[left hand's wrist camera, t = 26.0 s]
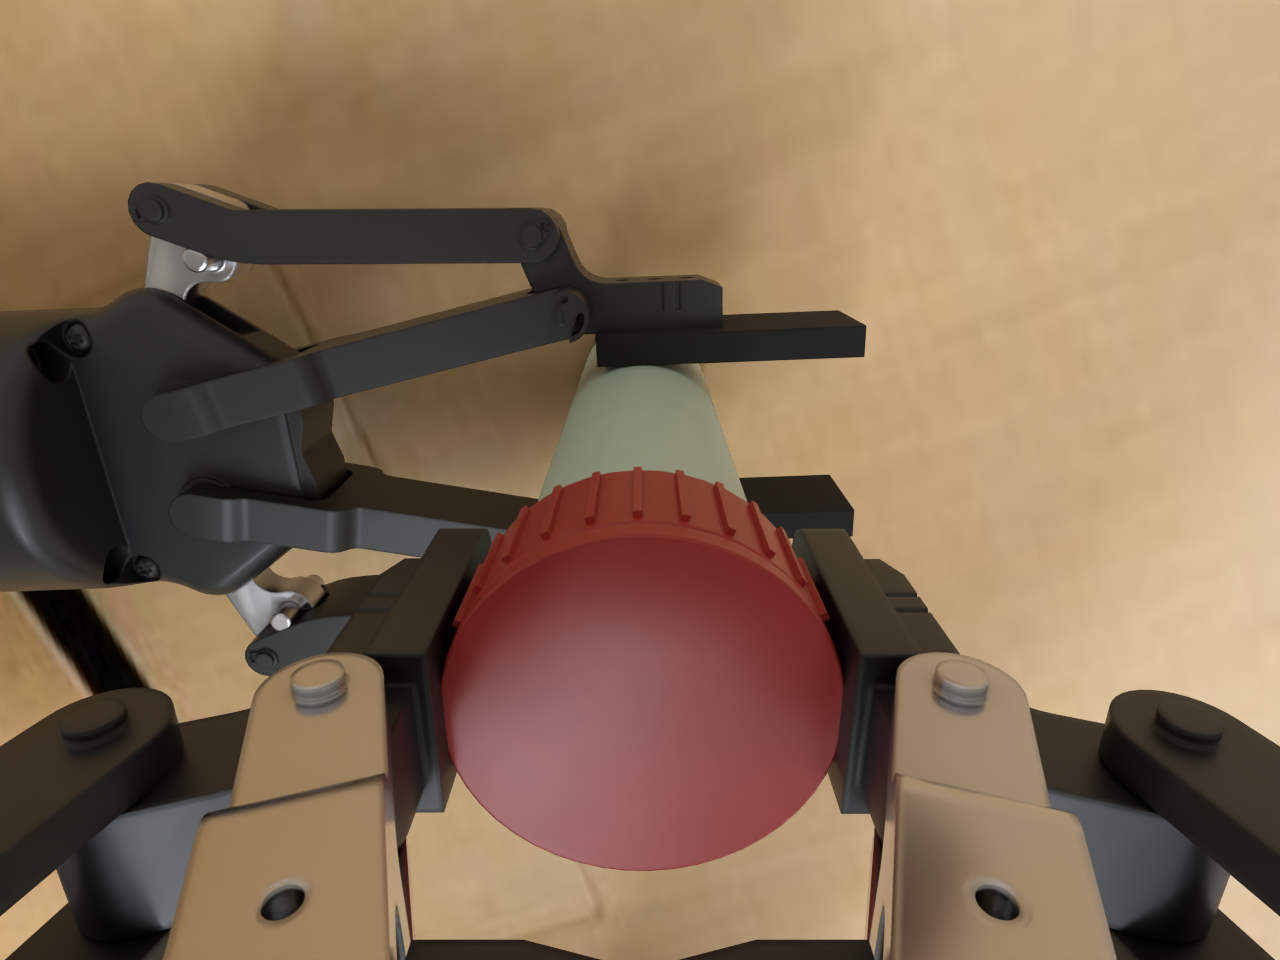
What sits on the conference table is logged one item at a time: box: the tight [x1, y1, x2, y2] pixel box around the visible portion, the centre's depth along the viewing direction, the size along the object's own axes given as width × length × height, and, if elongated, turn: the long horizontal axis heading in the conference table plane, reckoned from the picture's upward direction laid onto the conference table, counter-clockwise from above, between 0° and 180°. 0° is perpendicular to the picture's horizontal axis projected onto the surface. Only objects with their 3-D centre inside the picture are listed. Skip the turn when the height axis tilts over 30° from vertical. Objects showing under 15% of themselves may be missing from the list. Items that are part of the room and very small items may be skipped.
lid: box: [441, 467, 844, 871], centre depth 10 cm, size 5×5×2 cm
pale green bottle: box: [538, 343, 747, 502], centre depth 18 cm, size 4×4×17 cm
